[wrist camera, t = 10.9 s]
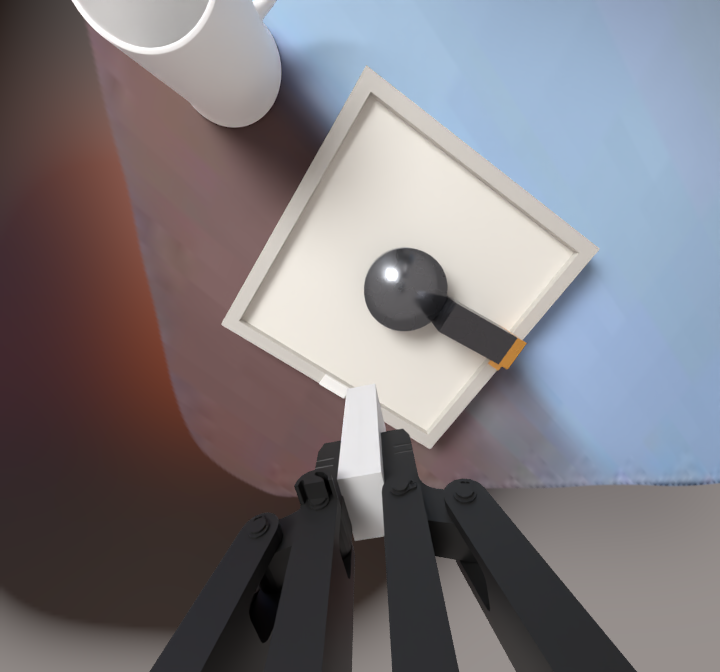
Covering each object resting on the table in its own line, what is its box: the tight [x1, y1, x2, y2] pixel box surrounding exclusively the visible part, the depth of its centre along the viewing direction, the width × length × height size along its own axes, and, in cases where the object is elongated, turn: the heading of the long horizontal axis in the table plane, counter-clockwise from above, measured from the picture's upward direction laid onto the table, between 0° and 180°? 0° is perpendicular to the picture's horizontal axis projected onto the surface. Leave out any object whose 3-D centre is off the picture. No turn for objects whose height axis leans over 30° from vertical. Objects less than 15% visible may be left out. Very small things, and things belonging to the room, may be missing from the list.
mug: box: [72, 0, 281, 127], centre depth 22 cm, size 12×8×12 cm
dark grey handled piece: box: [364, 247, 527, 369], centre depth 29 cm, size 14×7×4 cm, turn 61°
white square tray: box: [221, 65, 599, 449], centre depth 31 cm, size 24×24×3 cm
